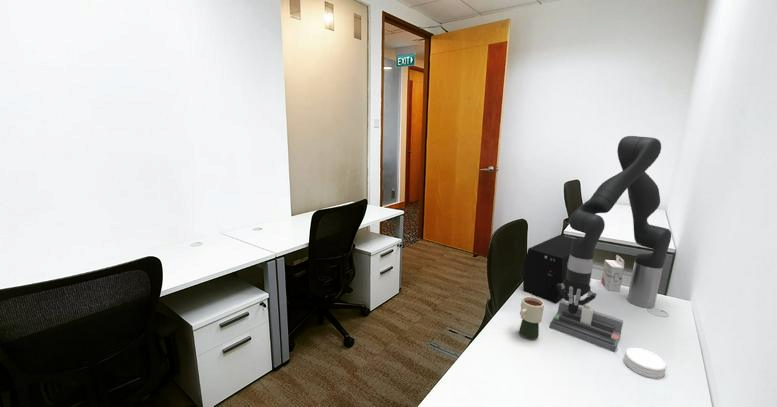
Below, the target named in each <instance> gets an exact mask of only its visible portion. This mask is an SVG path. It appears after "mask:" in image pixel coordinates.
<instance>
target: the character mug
mask: <svg viewBox="0 0 777 407" xmlns="http://www.w3.org/2000/svg"><path fill="white" fill-rule="evenodd" d="M544 309H545V302H544V301H543V300H542V299H541V298H539V297H537V296H531V295H530V296H528V295H526V296H522V298H521V302H520V311H519V316H520V319H521V322H520V326H519V329H518V333H519V334H520V335H521V336H522V337H524V338H527V339H531V340H536V339H538V338H539V334H540V333H539V332H540V328H539V324H540V323H541V322H543V316H544Z"/></svg>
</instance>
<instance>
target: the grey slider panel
mask: <svg viewBox="0 0 777 407" xmlns="http://www.w3.org/2000/svg"><path fill="white" fill-rule="evenodd" d="M568 307H569V302H568V301H565V300H560V301H559V302H558V309H557V312H556V314H555V315H554V316H553V318H552V319H551V321H550V322H549V328H550V329H552V330H555V331H557V332H559V333H563V334H566V335H568V336H571V337H573V338H577V339H579V340H582V341H584V342H587V343H588V344H589V343H590V344H592V345H595V346H598V347H600V348H603V349H606V350H609V351H610V352H614V353H615V352H616V350H617V348H618V347H617V346H618V344H619V341H620V339H621V335H622V328H623V323H624V319H620V318H618V317H616V316H615V317H613V316H611V315H608V314H606V313H601V312H599V311H596V310H594V311H593V317H592V322H591V326H590V325H588V324H585V323H582V322H580V320H581V314H582V308H583V306H581V305H579V306H578V311H577V313H575V314H571V313H570V311H568Z"/></svg>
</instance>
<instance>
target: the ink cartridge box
mask: <svg viewBox="0 0 777 407" xmlns="http://www.w3.org/2000/svg"><path fill="white" fill-rule="evenodd" d="M615 258H616V259H615V260H614V259H613V260H611V259H604V263H603V271H602V275H601V281H600V282H601V284H602V285H603V286H604V287H605V289H607V291H610V292H618V293H619V292H621V286H622V282H623V281H622V280H623V276H624V271H625V260H624V259H623V258H622V257H621V256H619V254H616V256H615Z"/></svg>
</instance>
